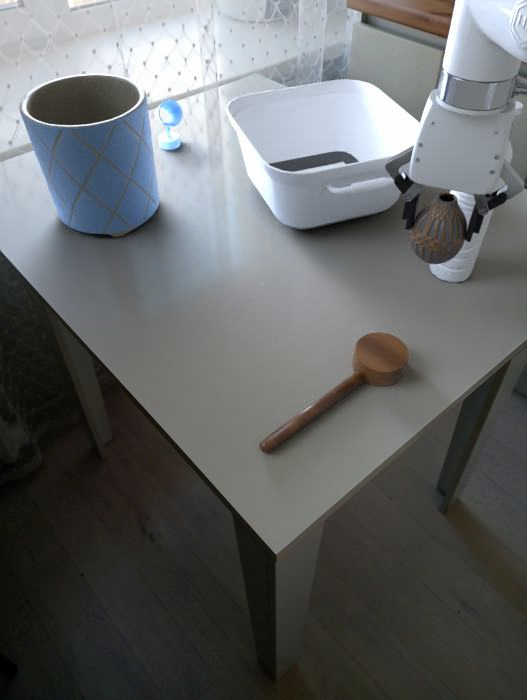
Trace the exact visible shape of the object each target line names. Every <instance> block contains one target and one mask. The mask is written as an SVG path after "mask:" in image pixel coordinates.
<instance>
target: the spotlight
mask: <svg viewBox="0 0 527 700" xmlns="http://www.w3.org/2000/svg"><path fill="white" fill-rule="evenodd" d="M161 109H163V110H165V111H166V112H167V118H166V119H165V120H163V119H162V117H161V113H160V111H161ZM183 114H184V112H183V108H182V106H181V105H180V103H179V102H177V101H176V100H174V99H170V98H169V99H165V100H163V101H162V102H160V104H159V106H158V107H157V108H156V109H155V113H154V115H155V119H156V120H157V122H158V123H159V122H160V124H163V125H165V132H162V133H160V134H159V135H158V137H157V140H158V146H159V148H160V149H161V150H165V151H171V150H176V149H178V148H180V146H181V145H182V144H181V136H180V134H179V133H178V132H174V131H171V128H174V127H177V126H178V125H179V124H180V123H181V122H182V120H183V116H184V115H183Z"/></svg>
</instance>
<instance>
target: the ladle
mask: <svg viewBox="0 0 527 700" xmlns="http://www.w3.org/2000/svg"><path fill="white" fill-rule="evenodd" d="M409 354H410V353H409V349H408V347H407V345H406V343H405V342H404V341H402V340H401V339H400V338H399V337H397V336H395V335H393V334H391V333H387V332H381V331H378V332H370V333H367V334H364V335H363V336H361V337H360V338H359V339H358V340H357V341H356V343H355V346H354V350H353V357H352V364H351V365H352V370H353V373H352V374H351V375H349V376H348V377H347V378H346V379H344V380H343V381H341V382H340V383H339V384H338V385H335V386H334V387H333V388H332V389H331V390H329V391H328V392H327V393H325V394H324V395H322V396H321V397H319V398H318V399H317V400H316V401H314V402H313V403H310V405H308V406H307V407H306V408H304V409H303V410H302V411H300V412H299V413H298V414H296V415H295V416H293V417H292V418H290V419H289V420H288V421H287V422H285V423H284V424H283V425H281V426H280V427H278V428H277V429H276V430H274V431H273V432H272V433H270V434H269V435H268V436H266V437H265V438H263V439H262V440H261V441H260V443H259V449H260V451H261V452H263V453H264V454H267V453H271V452H272V451H273V450H275V448H277V447H278V446H279V445H281V444H282V443H284V442H285V441H286V440H288V439H289V438H290V437H291V436H293V435H294V434H296V433H297V432H298V431H299V430H301V429H302V428H304V427H305V426H307V424H310V422H311V421H313V420H314V419H316V418H317V417H318V416H320V415H321V414H322V413H324V412H325V411H327V410H328V409H329V408H331V407H332V406H334V404H336V403H337V402H339V401H340V400H342V399H343V398H344V397H345V396H346V395H349V393H350V392H352V391H354V389H356V388H357V387H359V386H360V385H362V384H363V383H366V384H367V385H371V386H374V387H389V386H393V385H394V384H398V382H399V381H401V380H402V378H403V377H404V375H405V371H406V368H407V365H408V361H409V357H410V355H409Z"/></svg>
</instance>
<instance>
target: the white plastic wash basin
mask: <svg viewBox="0 0 527 700" xmlns="http://www.w3.org/2000/svg"><path fill="white" fill-rule="evenodd" d="M225 110H226V113H227V117H228V118H229V121H230V124H231V126H232V127H233V129H234V130H235V132H237V133H236V134H237V137H238V141H239V145H240V150H241V153H242V156H243V161H244V164H245V169H246V172H247V176H248V177H249V179H250V180H251V182H252V183H253V185H254V186H255V188H256V189H257V191H258V192H259V194H260V196H261V197H262V198H263V200H264V202H265V203H266V204H267V206H268V207H269V209H270V211H271V212H272V213H273V215H274V217H275V218H276V219H277V220H278V221H279V222H280V223H281V224H283V225H285V226H286V227H289V228H291V229H295V230H301V231H303V230H310V229H315V228H319V227H323V226H328V225H332V224H338V223H342V222H346V221H350V220H356V219H359V218H364V217H368V216H372V215H376V214H379V213H381V212H384V211H385V210H388V209H390V208H391V207H392V206H394V205H395V204H396V203H397V202H398V201H399V199H400V196H401V194H402V193H401V192H400V190H399V189H398V188H397V186H396V185H395V184H394V180H393V178H391V176H390V175H389V173H388V172H387V170H386V169H385V165H386V163H387V161H388V159H390V158H392V157H393V156H395V155H397V154H399V153H400V152H402V151H404V150H406V149H407V148H409V147H411V146H413V145H414V144H415V140H416V136H417V132H418V129H419V125H420V121H419V120H418V119H416V118H415V117H414V116H413V115H411V113H409V112H408V111H407V110H405V109H404V108H403V107H401V106H400V105H399V104H398V103H397V102H396V101H395V100H393V99H392V98H391V97H390V96H389V95H388V94H386V93H385V92H384V91H383V90H382V89H380V88H379V87H377V86H376V85H374V84H372V83H370V82H367V81H363V80H358V79H350V78H344V79H343V78H342V79H333V80H326V81H321V82H315V83H309V84H308V83H307V84H301V85H295V86H290V87H289V86H288V87H282V88H277V89H270V90H264V91H257V92H251V93H247V94H243V95H238V96H237V97H235V98H233V99H231V100H230V101H229V102H228V104H227V106H226V107H225ZM409 167H410V162H408V163H407V164H405V165H403V166H401V168H402V170H403V172H405V173H406V174H407V176H408V177H409Z"/></svg>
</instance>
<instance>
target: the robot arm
mask: <svg viewBox="0 0 527 700" xmlns="http://www.w3.org/2000/svg"><path fill="white" fill-rule="evenodd" d="M522 62H523V63H525V64H527V0H455V2H454V7H453V11H452V16H451V22H450V26H449V31H448V35H447V39H446V45H445V50H444V55H443V61H442V65H441V68H440V69H441V70H440V75H439V79H438V84H437V88H435V89H433V90H431V91H430V93H429V95H428V98H427V101H426V103H425V106H424V108H423V111H422V115H421V117H420V118H421V119H420V121H419V122H420V125H419V129H418V132H417V136H416V140H415V144H414V145H413V146H411V147H409V148H407V149H406V150H404V151H402V152H400V153H399V154H397V155H395V156H393V157H392V158H390V159H388V161H387V163H386V165H385V169H386V170H387V172H388V173H389V175H390V176H391V178H393V180H394V184H395V185H396V186H397V188H398V189H399V190H400V192H401V194H402V195H403V196H402V197H403V198H402V199H403V200H404V206H403V212H402V216H401V219H402V220H405V221H406V222H405V226H404V230H405V231H406V230H407V231H410V230H411V227H412V224H413V221H414V219H415V217H416V216H417V211H418V205H419V200H420V195H421V193H420V192H421V190H422V189H423V188H424V187H430V188H437V189H442V190H447V191H451V190H452V191H458V192H464V193H470V194H473V195H474V198H475V202H476V203H475V205H474V208H473V212H472V215H471V218H470V222H469V225H468V229H467V233H466V237H465V240H466V241H467V242H470V241H471V238H472V235H473V233H477V234H479V231H480V228H481V225H482V222H483V219H484V215H486V214H488V212H489V211H490V210H492V209H494V210H495V209H496V208H498V207H499V206H502V205H504V204H505V203H506V202H507V201H508V200H509V199H510V200H511V199H512V198H514V197H516V196H517V195H519V194H521V193H522V192H523V191H524V188H525V181H524V180H523V179H522V177H521V176H520V174H518V172H517V171H516V170H515V169H514V167H513V166H512V165H511V163H510V164H509V163H508V161H507V160H506V159H505V156H506V152H507V148H508V144H509V141H511V136H512V132H513V126H514V122H515V116H516V115H515V106H516V102H515V101H516V100H515V99H514V98H515V97H519V96H525V97H526V96H527V80H524V79H523V78H521V75H519V71H520V67H521V64H522ZM408 162H410V167H409V177H408V176H407V174H406V173H405V172H403V170H402V168H401V166H403V165H405V164H407V163H408ZM499 177H501V178H502V179H503V181H504V182H503V183H505V184H506V185H505V186H504V187H501V189H498V190H497V191H495V192H493V191H494V189H495V187H496V185H497V182H498V179H499ZM492 192H493V193H492ZM490 193H491V194H490Z"/></svg>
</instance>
